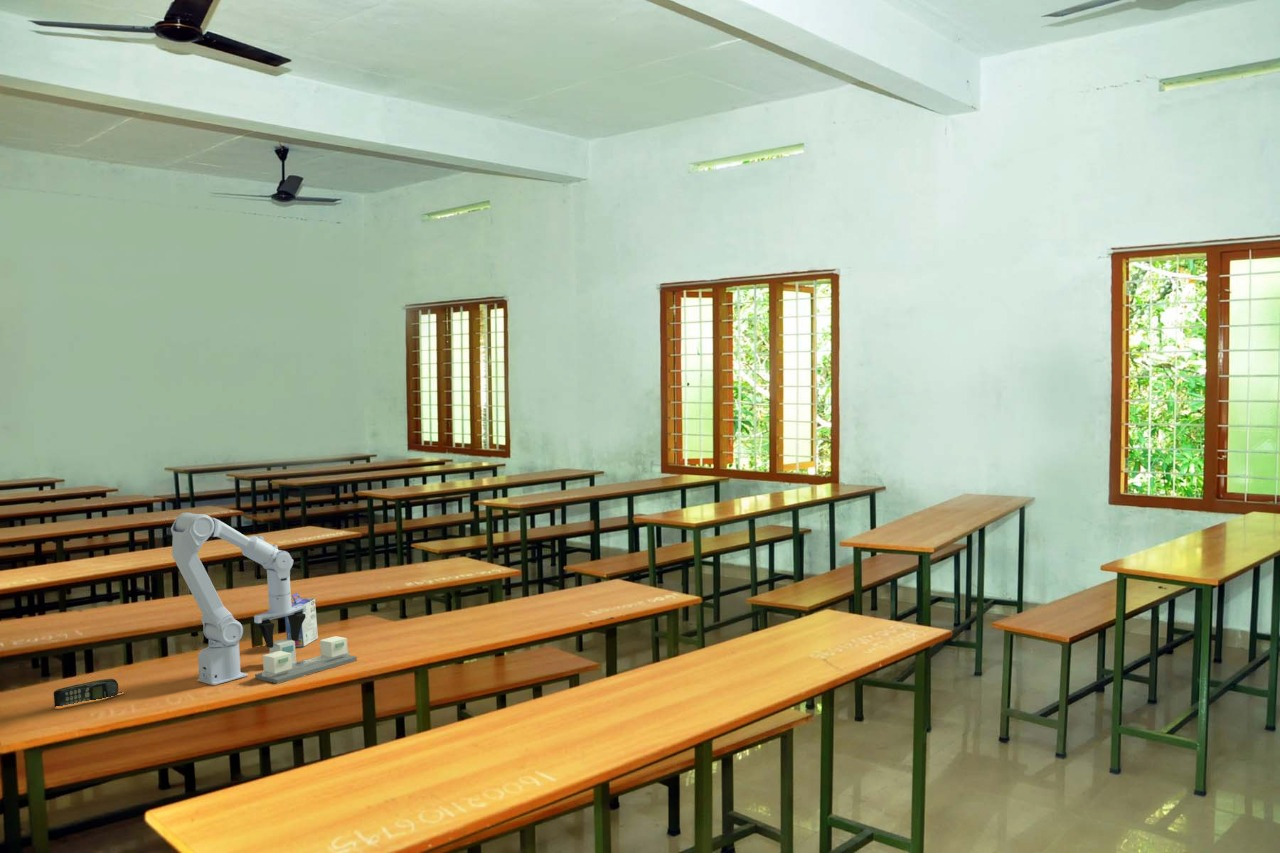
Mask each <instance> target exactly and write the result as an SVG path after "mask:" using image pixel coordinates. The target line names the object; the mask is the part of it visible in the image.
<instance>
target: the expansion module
mask: <svg viewBox="0 0 1280 853" xmlns="http://www.w3.org/2000/svg"><path fill="white" fill-rule="evenodd" d="M277 651H284V652H288V653H292V664H293V663H296V662H297V656H296V647H295V641H293V640H288V639H287V638H281V639H278V640H273V647H272V648H269V654H270V653H274V652H277Z"/></svg>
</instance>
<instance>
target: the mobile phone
mask: <svg viewBox="0 0 1280 853" xmlns="http://www.w3.org/2000/svg"><path fill="white" fill-rule="evenodd" d="M122 692H123V691H120V692H119V683H118V681H117V680H116V679H114V678H105V679H99V680H92V681H89V682H84V683H79V684H74V685H70V686H66V687H62V688H58V689H56V690H54V691H53V702H54V708H55V707H56V706H63V705H68V704H74V703H78V702H82V701H89V700H96V699H102V698H106V697H111V696H114V697H116V696H115V695H117V694H118V693H122Z"/></svg>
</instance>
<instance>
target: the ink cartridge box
mask: <svg viewBox="0 0 1280 853" xmlns="http://www.w3.org/2000/svg"><path fill="white" fill-rule="evenodd" d="M296 597H298V598H296ZM291 599H292V600H293V602H292V601H291V606H296V605H301V604H302V605H306V612H304V613H303V614H305V615H306V617H305V619H304V621H303V623H302V626H301V629H300V633H299V638H298V641H295V648H303V647H306V646H308V645H309V644H310V643H312V642H315V640H317V639H318V638H319V635H318V634H319V633H318V622H317V610H316V599H315V598H302V597H301V596H300V594H298V592H297V593H294V594H291ZM284 621H285V632H286V639H288V640H292V639H291V629H290V623H289V619H288V616H285V617H284Z"/></svg>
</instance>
